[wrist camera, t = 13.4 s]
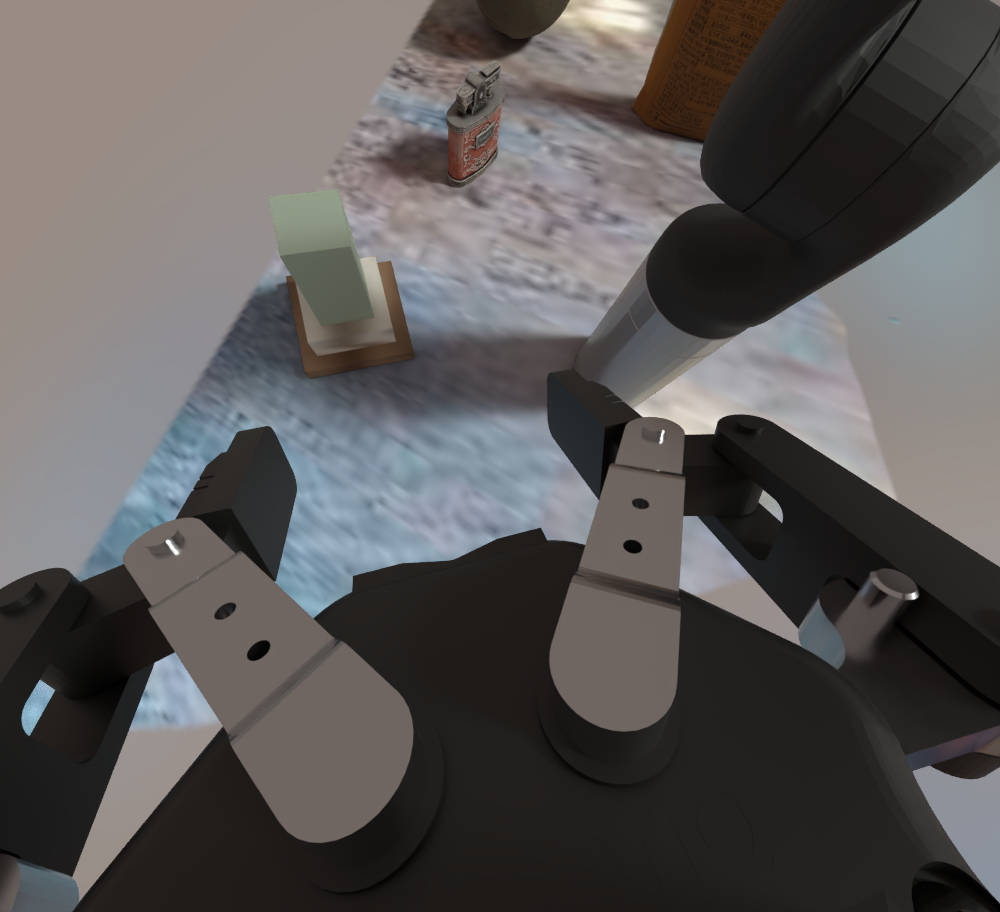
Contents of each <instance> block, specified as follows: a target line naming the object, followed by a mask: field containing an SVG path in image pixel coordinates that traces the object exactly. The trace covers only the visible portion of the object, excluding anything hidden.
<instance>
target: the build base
mask: <svg viewBox="0 0 1000 912" xmlns="http://www.w3.org/2000/svg"><path fill="white" fill-rule="evenodd" d="M360 261H361V264H362V268H363V271H364V274H365V279H366V283H367V288H368V292H369V297H370V301H371V305H372V310H373V314H374V318H369V319H363V320H357V321H351V322H345V323H339V324H333V325H327V326H321V325H320V323H319V321H318V320H317V318H316V316H315V315H314V313H313V311H312V309H311V308H310V306H309V304H308V303H307V301H306V299H305V298H304V296H303V294H302V293H301V291H300V289H299V288H298V286H297V284H296V283H295V281H294V279H293V278H292V276H286V279H287V284H288V289H289V294H290V299H291V304H292V309H293V314H294V320H295V325H296V330H297V335H298V340H299V345H300V350H301V355H302V360H303V365H304V370H305V373H306V374H307V376H308V377H309V378H314V377H319V376H325V375H330V374H335V373H340V372H346V371H351V370H356V369H361V368H367V367H372V366H377V365H382V364H388V363H393V362H398V361H403V360H408V359H414V353H413V349H412V345H411V340H410V336H409V332H408V328H407V324H406V320H405V316H404V312H403V308H402V304H401V300H400V296H399V292H398V288H397V283H396V279H395V275H394V271H393V267H392V263H391V261H387V262H380V263H377V261H376V257H375V256H374V257H368V258H361V259H360Z"/></svg>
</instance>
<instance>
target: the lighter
mask: <svg viewBox="0 0 1000 912" xmlns="http://www.w3.org/2000/svg"><path fill="white" fill-rule="evenodd" d="M500 74H501V65H500V63H499V62H498V61H496V60H493V61H492V62H490V63H489V64H488V65H487V66H485V67H484V68H483V69H482V70H481V71H480V72H478V73H477V74H475V73H473V72H470V73H469V74H468V75H467V77H466V80H465V82H464V84H463V85H462V86H461V87H460V88H458V89H457V96H456V101H455V102H454V104H453V105H452V106H451V107H450V109H449V110H448V111H447V125H448V168H447V180H448V182H449V183H450V184H451V185H452V186H454V187H457V188H461V187H464V186H466V185H468V184H469V183H471V182H473V181H474V180H476V179H477V178H478V177H480V176H481V175H482V174H483V173H484V172H485V171H486V170H487V169H488V168H489V167H490V166H491V165H492V163H493V162H494V160H495V159H496V157H497V153H498V146H497V140H498V132H499V124H500V116H501V108H502V103H503V101H504V99H505V88H504V86H503V84H502V83H501V82H499V81H498V80H499V79H500Z"/></svg>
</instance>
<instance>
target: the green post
mask: <svg viewBox="0 0 1000 912" xmlns="http://www.w3.org/2000/svg"><path fill="white" fill-rule="evenodd" d="M269 201H270V207H271V212H272V218H273V223H274V229H275V234H276V239H277V244H278V250H279V255H280V257H281V259H282V261H283V262H284V264H285V266H286V267H287V269H288V271H289V272H290V274H291V276H292V278H293V279H294V281H295V283H296V284H297V286H298V288H299V289H300V291H301V293H302V294H303V296H304V298H305V299H306V301H307V303H308V304H309V306H310V308H311V309H312V311H313V313H314V315H315V316H316V318H317V320H318V321H319V323H320V325H321V326H327V325H333V324H339V323H345V322H351V321H357V320H363V319H369V318H374V314H373V310H372V305H371V301H370V297H369V292H368V288H367V283H366V279H365V274H364V271H363V268H362V264H361V261H360V258H359V255H358V252H357V249H356V245H355V242H354V239H353V236H352V233H351V229H350V226H349V223H348V220H347V217H346V214H345V210H344V207H343V204H342V201H341V198H340V194H339V191H338V189H336V190H327V191H318V192H308V193H300V194H291V195H282V196H272V197H269Z"/></svg>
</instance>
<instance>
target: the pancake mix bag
mask: <svg viewBox="0 0 1000 912" xmlns="http://www.w3.org/2000/svg"><path fill="white" fill-rule="evenodd" d="M786 1H787V0H673V3H672V6H671V9H670V12H669V15H668V18H667V21H666V24H665V26H664V29H663V31H662V34H661V37H660V39H659V42H658V44H657V47H656V49H655V52H654V55H653V58H652V62H651V65H650V68H649V71H648V73H647V77H646V80H645V84H644V86H643V88H642V90H641V91H640V93H639V95H638V96H637V98H636V99H635V101H634V103H633V104H632V106H631V107H632V108H633V110H634V111H635V112H636V114H637V115H638V116H639V117H640V119H641V120H642V121H643V122H644V124H646V125H648V126H649V127H651V128H652V129H654V130H658V131H662V132H667V133H671V134H675V135H679V136H683V137H687V138H692V139H696V140H700V141H705V138H706V135H707V133H708V130H709V128H710V125H711V123H712V121H713V118H714V116H715V114H716V112H717V110H718V108H719V106H720V104H721V102H722V100H723V99H724V97H725V95H726V93H727V92H728V90H729V88H730V86H731V85H732V83H733V81H734V80H735V78H736V76H737V75H738V73H739V71H740V70H741V68H742V67H743V65H744V63H745V62H746V60H747V59H748V57H749V56H750V54H751V53H752V51H753V50H754V48H755V47H756V45H757V44H758V42H759V40H760V39H761V38H762V36H763V35H764V33H765V32H766V30H767V29H768V27H769V26H770V24H771V23H772V22H773V20H774V19H775V17H776V16H777V14H778V13H779V11H780V10H781V8H782V7H783V6H784V4H785V3H786Z"/></svg>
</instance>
